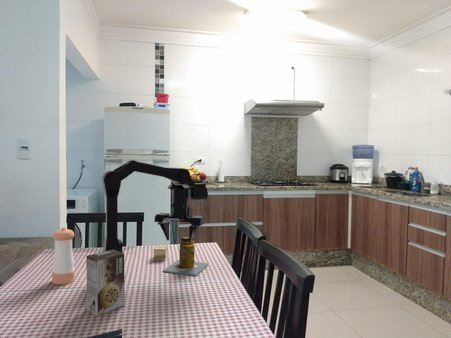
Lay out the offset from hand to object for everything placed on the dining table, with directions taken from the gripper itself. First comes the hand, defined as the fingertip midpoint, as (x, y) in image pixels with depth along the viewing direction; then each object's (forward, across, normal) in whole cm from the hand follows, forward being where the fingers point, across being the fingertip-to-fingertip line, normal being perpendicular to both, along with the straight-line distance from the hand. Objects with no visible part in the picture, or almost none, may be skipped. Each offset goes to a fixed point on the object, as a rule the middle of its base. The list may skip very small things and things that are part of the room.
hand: (179, 241), depth 129 cm
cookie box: (+13, +9, +33) cm, 36 cm away
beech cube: (+13, +15, -16) cm, 25 cm away
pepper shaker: (+14, +36, +19) cm, 43 cm away
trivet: (+13, 0, -7) cm, 15 cm away
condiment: (+12, 0, -7) cm, 14 cm away
